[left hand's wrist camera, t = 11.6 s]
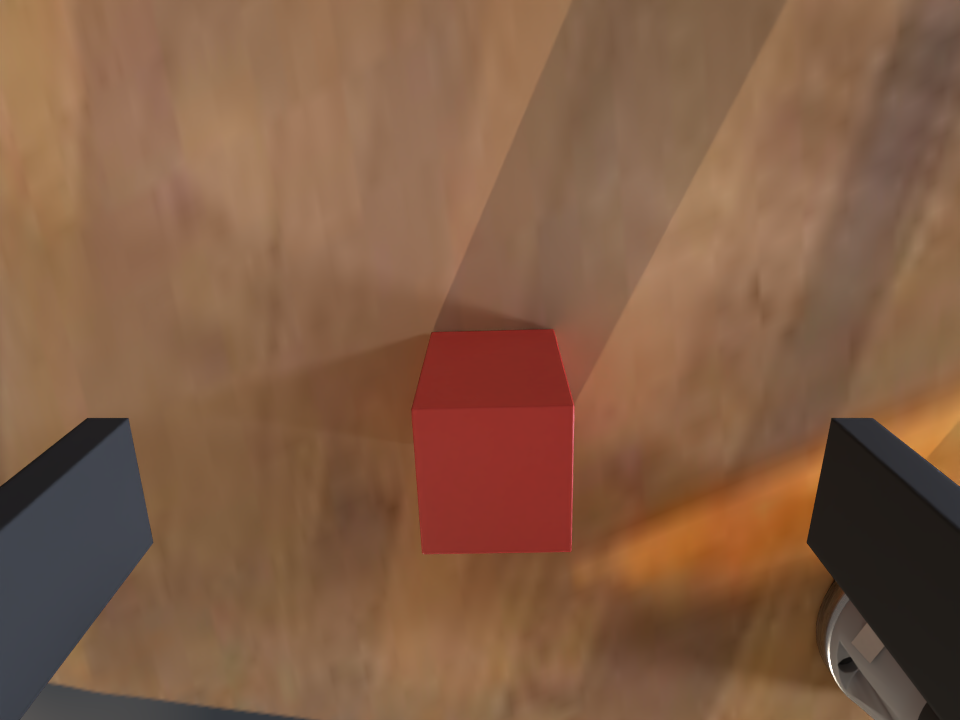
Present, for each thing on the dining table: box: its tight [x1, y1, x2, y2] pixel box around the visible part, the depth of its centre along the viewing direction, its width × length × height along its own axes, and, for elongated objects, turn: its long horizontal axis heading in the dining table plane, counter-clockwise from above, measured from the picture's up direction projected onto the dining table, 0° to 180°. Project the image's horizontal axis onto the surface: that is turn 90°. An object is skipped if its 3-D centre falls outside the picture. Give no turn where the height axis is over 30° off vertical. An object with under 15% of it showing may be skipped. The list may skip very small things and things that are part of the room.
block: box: [411, 329, 574, 554], centre depth 36 cm, size 8×7×11 cm
